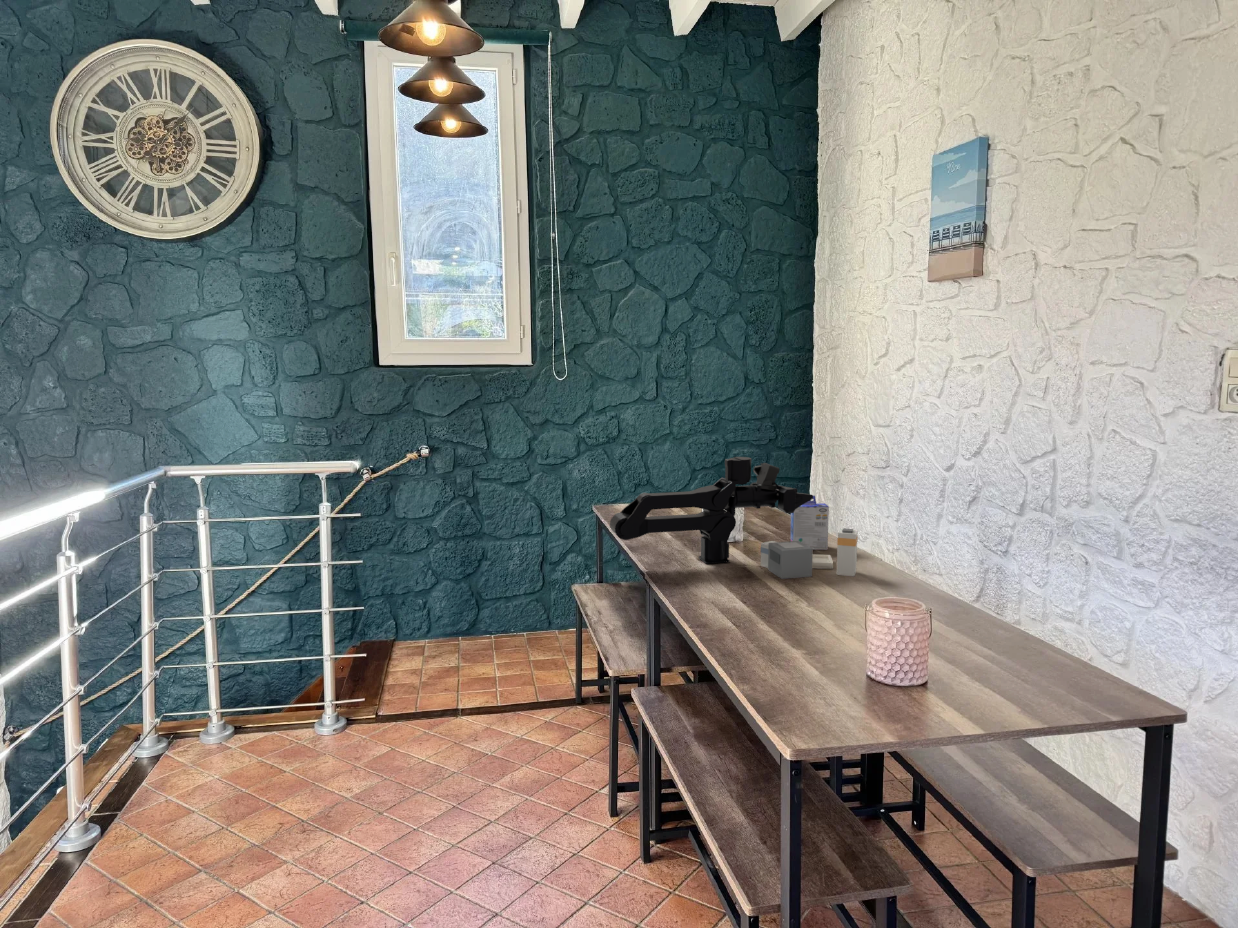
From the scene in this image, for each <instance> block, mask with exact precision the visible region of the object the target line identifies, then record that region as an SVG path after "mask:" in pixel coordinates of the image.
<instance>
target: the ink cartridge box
mask: <svg viewBox="0 0 1238 928" xmlns="http://www.w3.org/2000/svg"><path fill="white" fill-rule="evenodd" d="M829 510H830V507H829V505H828V504H826V503H824V502H823V503H817V500H816V495H813V499H812V500H810V501H808V502H807V503H805V504H803V505H801V506H800V507H798V508H797V509H795V511H794V512H793V513H790V541H799V542H801V543H803V544H805V545H807V546H809V547H811V548H813V550H828V545H829V517H830V516H829V514H830V511H829Z"/></svg>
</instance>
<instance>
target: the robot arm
mask: <svg viewBox="0 0 1238 928" xmlns="http://www.w3.org/2000/svg"><path fill="white" fill-rule="evenodd" d="M724 466H725V469H724V471H725V475H724V477H721V478H720V479H718V480H717V481H716V482H715V483H713V485H712V484H711V485H707V486H706V485H705V486H702V487H698V488H695V489H694V490H690V491H674V492H673V491H672V492H654V493H653V492H650V493H648V492H642V493H640V494H638V495H637V497H636V498H635V499H634V500H633V501H631V502H630V503H629V504H627V505H626V506H625V507H624V508H623V509H622V510H621V511H620V512H617V513H615V514H614V515H613V516H612V517H611V519H610V520H609V528H610V530H611V531H612V532H613V533H614V534H615V535H616V536H617V537H618V538H619V539H620V540H622V541H627V540H632V539H637V538H640V537H643V536H646V535H647V534H653V533H673V532H690V531H691V532H692V531H698V532H699V533H700V535H701V536H700V555H698V559H699V560H701V561H702V562H703V563H704V564H706V565H710V564H711V565H712V564H723V563H730V543H729V542H728V541H729V539H730V536H731V533H732V531H734V530H735V527H736V525H737V521H736V519H737V518H736V517H735V516H736V509H738V508H739V509H740V508H741V509H742V508H755V509H758V510H759V509H761V507H762V508H763V507H765V508H766V507H769V508H771V509H773V508H774V509H775V508H776V503H777V508H778V510H780V511H781V512H783V513H785V514H791V513H793V512H794V511H795V509H797V508H798V507H800V506H801V505H803V504H805V503H807V502H808V501H813V500H814V499H813V496H814V495H813V494H810V493H805V492H804V493H803V492H798V488H794V487H790V486H784V485H779V484H777V483H776V480H777V477H778V474H779V473H780V467H778V466H775V465H771V464H769V463H767V462H763V463H762V462H761V463H760V465H755V466H754V467H753V470H752V458H751V457H748V456H734V457H730V458H725V459H724ZM752 471H753V473H754V474H755V475H756V478H757V479H756V481H755V482H751V483H750V481H752ZM748 483H750V484H749V485H747V484H748ZM683 508H685V509H687V508H697V509H701V510H702V511H700V512H698V513H692V514H675V515H674V514H673V515H671V514H670V515H654V516H653V515H652V516H648V515H649V513H651V511H652V510H667V509H668V510H669V509H683Z"/></svg>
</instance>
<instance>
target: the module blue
mask: <svg viewBox="0 0 1238 928" xmlns="http://www.w3.org/2000/svg"><path fill="white" fill-rule="evenodd" d="M774 542H777V541H775V540H770V541H765V542H760V567H762V568H763V567H764V568H766V569H768V548H769V543H774Z"/></svg>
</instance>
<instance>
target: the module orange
mask: <svg viewBox="0 0 1238 928" xmlns="http://www.w3.org/2000/svg"><path fill="white" fill-rule="evenodd" d="M858 533H859V532H858V530H857V529H856V530H854V528H842V529H841V528H840V529H839V530H838V532H837V540H836V541H837V542H836V544H837V548H836V549H837V550H836V552H837V553H836V575H837V576H838V575H839V576H847V577H855V576H856V573H857V557H858V556H857V555H858V536H859V535H858Z"/></svg>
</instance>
